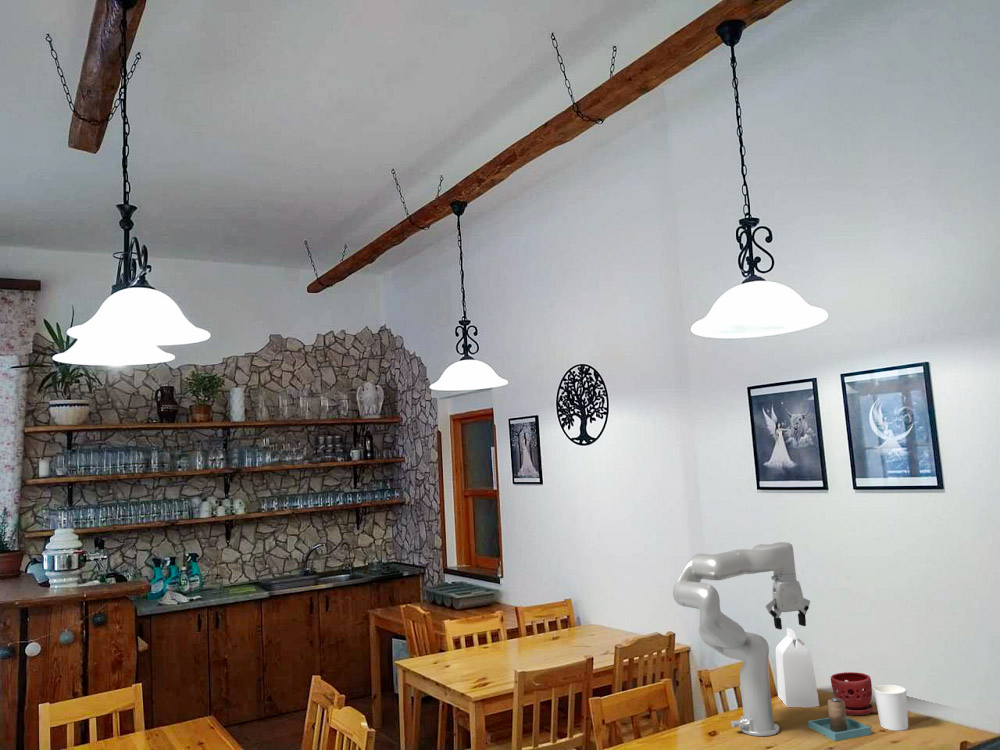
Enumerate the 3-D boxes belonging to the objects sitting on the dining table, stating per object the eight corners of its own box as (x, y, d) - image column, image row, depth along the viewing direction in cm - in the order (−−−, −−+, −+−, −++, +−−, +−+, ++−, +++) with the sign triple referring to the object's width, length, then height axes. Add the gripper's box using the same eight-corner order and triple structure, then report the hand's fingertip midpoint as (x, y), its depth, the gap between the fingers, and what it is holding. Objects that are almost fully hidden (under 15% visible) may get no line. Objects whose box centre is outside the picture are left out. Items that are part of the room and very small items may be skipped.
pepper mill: (837, 733, 252) (834, 701, 253) (826, 728, 257) (823, 697, 258) (851, 730, 253) (847, 699, 255) (840, 725, 258) (836, 695, 260)
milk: (778, 698, 293) (770, 627, 296) (809, 696, 292) (801, 625, 295) (786, 708, 281) (778, 634, 284) (819, 706, 280) (811, 632, 283)
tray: (835, 741, 247) (834, 733, 247) (808, 728, 260) (807, 721, 260) (871, 734, 250) (870, 727, 251) (843, 721, 263) (842, 715, 264)
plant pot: (866, 704, 279) (862, 670, 280) (881, 716, 266) (876, 680, 267) (829, 706, 280) (825, 671, 281) (841, 718, 267) (837, 682, 268)
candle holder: (880, 720, 263) (876, 683, 264) (913, 723, 257) (908, 686, 258) (875, 729, 255) (870, 691, 256) (908, 733, 249) (903, 694, 250)
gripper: (769, 581, 272) (775, 632, 270) (812, 576, 276) (818, 626, 274) (757, 579, 279) (763, 628, 277) (799, 574, 283) (805, 622, 281)
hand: (790, 627), depth 275 cm, fingers open, 9 cm apart
